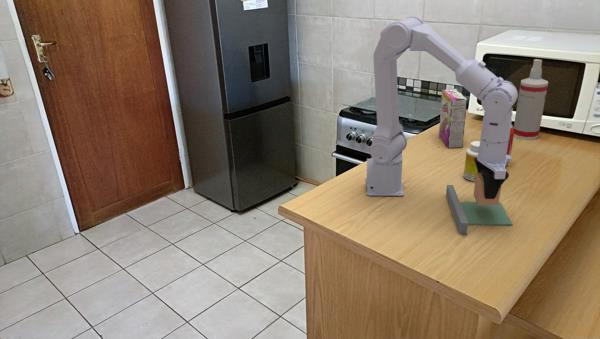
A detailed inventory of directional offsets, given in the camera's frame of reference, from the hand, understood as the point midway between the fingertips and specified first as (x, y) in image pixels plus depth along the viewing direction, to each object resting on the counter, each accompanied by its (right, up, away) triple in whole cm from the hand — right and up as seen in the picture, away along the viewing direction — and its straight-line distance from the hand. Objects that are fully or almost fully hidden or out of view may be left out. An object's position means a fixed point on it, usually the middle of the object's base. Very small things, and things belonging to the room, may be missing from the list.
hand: (486, 192), depth 102 cm
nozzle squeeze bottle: (+31, +17, +44) cm, 56 cm away
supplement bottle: (+5, +3, +19) cm, 20 cm away
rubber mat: (0, -5, +3) cm, 6 cm away
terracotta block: (0, -2, +1) cm, 2 cm away
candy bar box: (+6, +14, +43) cm, 45 cm away
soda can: (+14, +7, +26) cm, 30 cm away
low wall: (-6, -5, +3) cm, 9 cm away
